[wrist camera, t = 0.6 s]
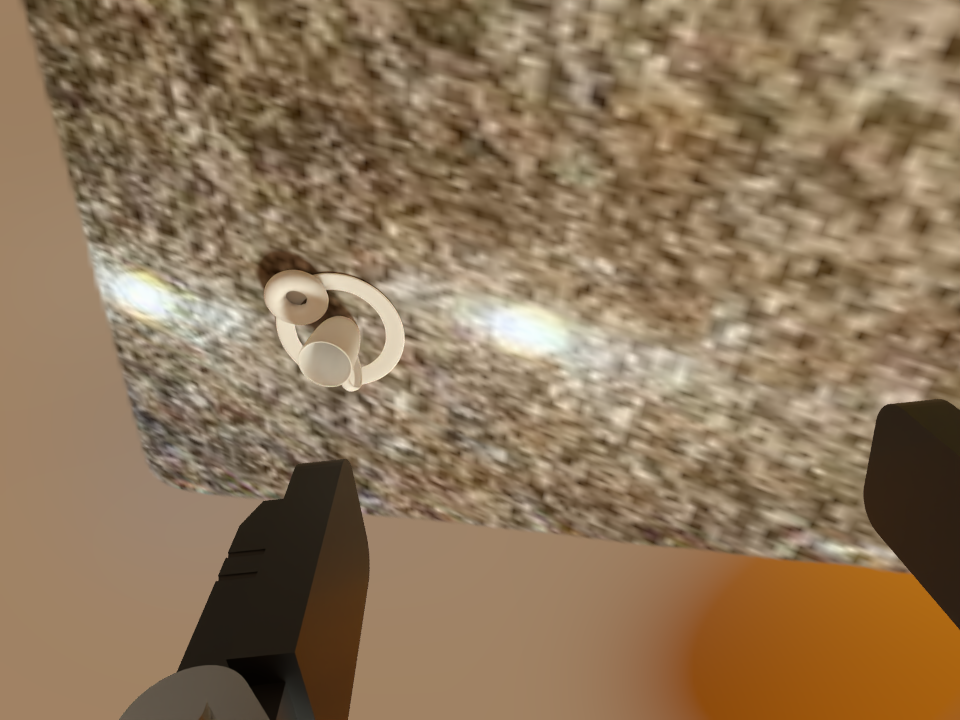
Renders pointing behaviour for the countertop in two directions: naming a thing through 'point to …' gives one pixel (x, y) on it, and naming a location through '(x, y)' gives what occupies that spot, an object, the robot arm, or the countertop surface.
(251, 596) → the robot arm
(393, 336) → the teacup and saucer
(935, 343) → the countertop surface
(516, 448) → the countertop surface
